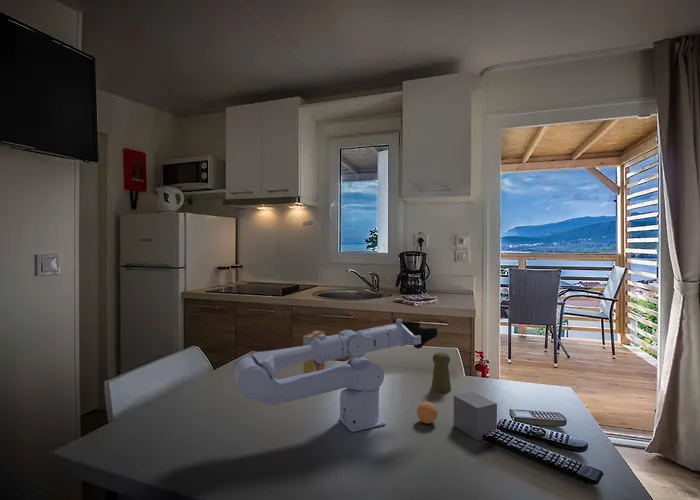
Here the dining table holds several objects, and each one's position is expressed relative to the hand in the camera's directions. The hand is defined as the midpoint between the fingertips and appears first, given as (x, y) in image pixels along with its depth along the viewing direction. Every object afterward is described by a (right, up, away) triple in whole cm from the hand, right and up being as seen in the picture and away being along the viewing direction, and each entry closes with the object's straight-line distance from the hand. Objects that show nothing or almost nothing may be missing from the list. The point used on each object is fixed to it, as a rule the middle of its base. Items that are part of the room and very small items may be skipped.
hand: (427, 328), depth 103 cm
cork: (+7, -22, +15) cm, 27 cm away
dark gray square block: (+9, -22, -12) cm, 26 cm away
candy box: (-33, -22, +22) cm, 45 cm away
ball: (-2, -19, -8) cm, 21 cm away
